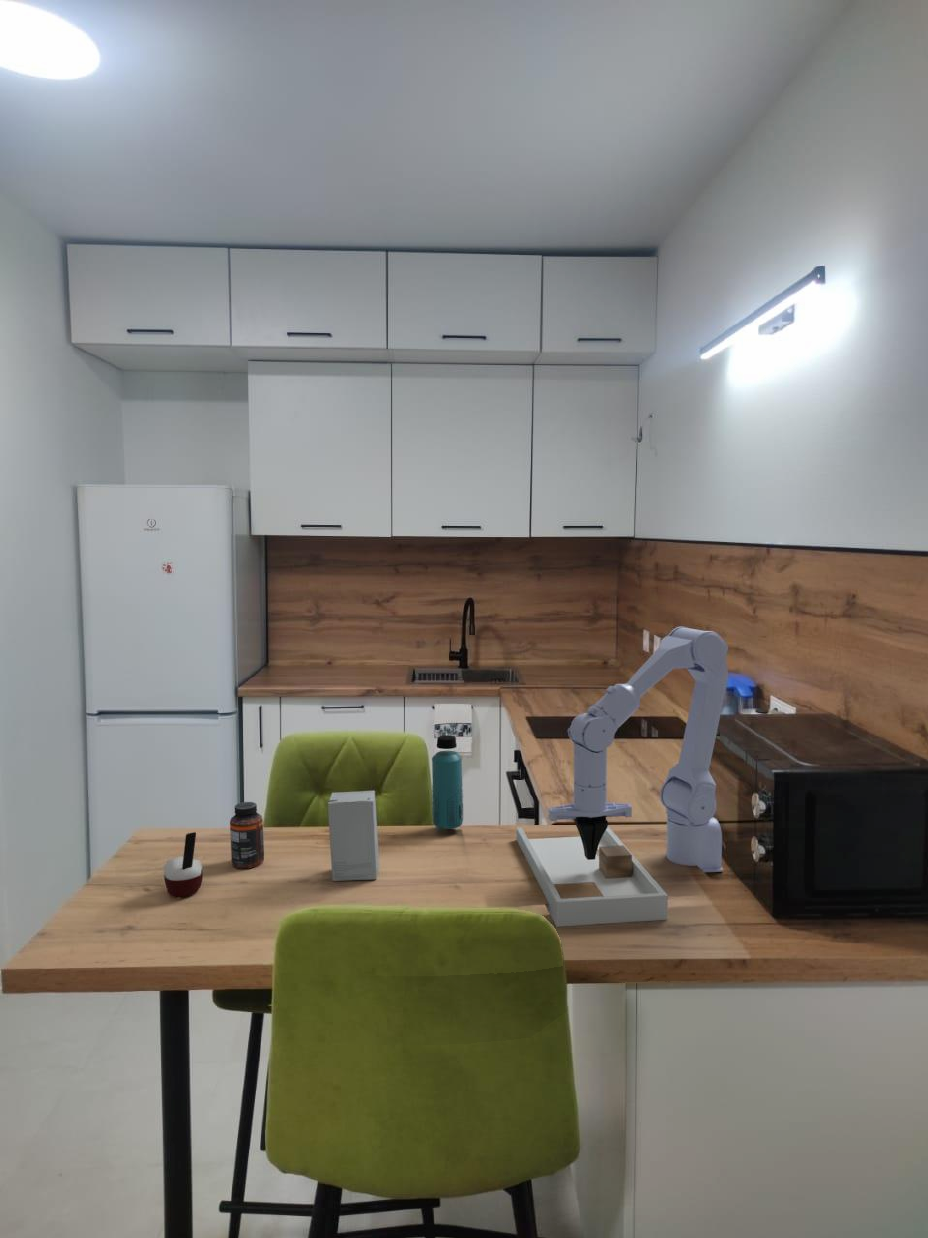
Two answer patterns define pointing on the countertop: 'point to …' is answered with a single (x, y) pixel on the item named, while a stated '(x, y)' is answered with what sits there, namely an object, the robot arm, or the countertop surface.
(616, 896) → the tray
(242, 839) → the supplement bottle
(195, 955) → the countertop surface
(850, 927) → the countertop surface
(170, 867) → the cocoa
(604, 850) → the walnut block
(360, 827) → the skincare box
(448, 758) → the beverage bottle
